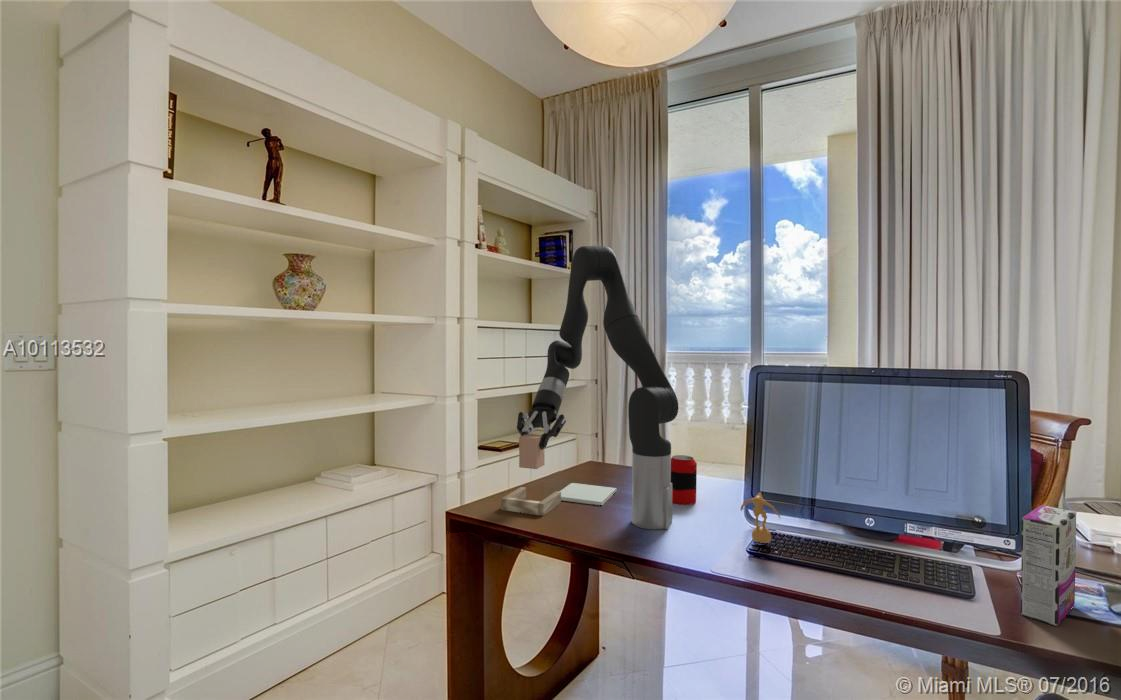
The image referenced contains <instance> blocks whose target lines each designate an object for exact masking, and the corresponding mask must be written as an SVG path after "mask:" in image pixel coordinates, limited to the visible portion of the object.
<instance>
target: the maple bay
mask: <svg viewBox="0 0 1121 700" xmlns="http://www.w3.org/2000/svg"><path fill="white" fill-rule="evenodd" d="M559 491H560V490H559ZM559 491H557V490H556V491H554V492H553V493H551V494H550V495H548V496H547V497H545V498H544V499H543V500H541V501H538V500H530V499H526V498H527V487H525V486H520V487H518V488H516V489H515V490H514V491H511V492H510V493H508V494H506V495H504V496H503V497H502V498H501V502H500V503H501V510H502V511H505V512H507V511H508V512H514V513H520V512H521V514H528V515H534V514H535V516H540V515H541V517H543V516H545V514H546V515H547V514H548V513H550V512H551V511H552V510H553V509H554V508H556V507H558V505H560V504H561V503H562V500H561V492H559ZM501 510H500V511H501Z"/></svg>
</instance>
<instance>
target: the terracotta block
mask: <svg viewBox="0 0 1121 700" xmlns="http://www.w3.org/2000/svg"><path fill="white" fill-rule="evenodd" d="M541 437H542V434H535V433H530V434H526V435H523V436H521V435H520V436H519V437H518V443H519V444H518V446H519V447H518V454H519V456H518V457H519V458H518V467H519V468H521V469H522V468H523V469H529V470H530V469H531V470H537V469H539V468H541V467H543V466H545V448H544V449H543V450H542V449H540V447H539V443H540V440H541Z"/></svg>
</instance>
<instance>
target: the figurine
mask: <svg viewBox="0 0 1121 700" xmlns="http://www.w3.org/2000/svg"><path fill="white" fill-rule="evenodd" d="M748 503H753V506H754V508H753V510H752V512H753V515H754V516H755V519H754V522H755V526H756V527H755V528H754V529H753V530H752V532H751V538H752V541H753V540H754V541H755V542H760V543H769V542H770V543H771V541H772V534H771V532H770V530H769V529H768V528H767V527H766V523H767V519H768V516H767V511H766V510H763V509H764V506H765V505H766V507H769V508H770V509H772V510H773V511H774V513H775V514H776V515H777V516H778V517H779V519H781V516H780V514H779V512H778V511H777V509H776V508H775V506H774V505H772V504H771V503H769V502H768V501H766V500H765V499H764V498H763V494H762V492H758V493H757V494H756V495H755V497H752V498H749V499H745V500H744V501H742V504H741V507H740V512H742V511H743V510H744V507H745V505H746V504H748ZM760 515H761V517H762V518H763V520H762V521H761V522H762V526H759V523H758V522H759V516H760ZM754 541H753V542H754ZM755 542H754V543H755ZM770 543H769V544H770Z"/></svg>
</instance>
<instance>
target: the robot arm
mask: <svg viewBox="0 0 1121 700" xmlns="http://www.w3.org/2000/svg"><path fill="white" fill-rule="evenodd" d="M568 281H569V282H568V289H567V291H568V292H567V301H566V306H565V312H564V315H563V318H562V322H561V325H560V328H559V331H558V332H559V333H558V335H559V337H560V338H561V340H563V341H560V340H554V341H552V342H551V343H550V344H549V346H548V349H547V353H546V354H547V363H546V364H547V365H546V370H545V372H544V375H543V378H542V381H541V382H540V384H539V386H538V389H537V392H536V394H535V396H534V399H533V402H532V405H531V409H530V410H529V411H528V412H527V413H523V412H522V411H520V412H519V413H518V415H517V425H516V430H517V432H518V434H519V435H520V437H521V436H523V435H526V434H532V432H534V431H536V429H537V428H542V429H543V433H542V434H541V435H542V437H541V440H540V443H539V447H540V449H542V450H543V449H544V450H545V448H547V446H548V443H549V439H550V438H551V437H554V438H557V436H559V434H560V432H561V431H562V430H563V428H564V426H565V424H566V423H567V420H566V418H565V416H564V414H563V413H562V414H560V415H558V414H559V410H560V407H561V405H562V402H563V400H564V396H565V391H566V388H567V384H568V381H569V379H570V371H569V370H568V369H572V370H574V369H577V368H578V367H579V366H580V365H581V362H582V357H583V347H582V346H583V337H584V334H585V331H586V328H587V324H588V320H589V311H588V306H587V304H586V301H585V297H584V291H585V286H586V284H587V282H588V281H589V282H590V281H600V282H601V283H602V285H603V287H604V289H605V293H606V297H607V299H606V305H605V310H604V313H603V319H602V321H603V322H602V323H603V329H604V331H605V334H606V337H607V339H608V341H609V343H610V346H611V348H612V349H613V351H614V352H615V354H617V356H618V357H619V358H620V359H621V360H622V361H623V362H624V363H625V364H626V365H627V366H628V367H629V368H630V369H631V370H632V371H633V373H635V375H636V377H637V378H638V381H639V382H640V384H641V387H637V388H635V389H634V390H633V391H632V393H631V394H630V396H629V399H628V407H627V408H628V409H627V410H628V412H627V413H628V414H627V415H628V435H629V440H630V443H631V446H632V452H631V453H632V455H631V456H632V462H631V463H632V464H631V523H632V524H633V525H634V526H636V527H639V528H641V529H645V530H668V529H669V527H670V526H671V524H672V522H673V503H672V483H671V458H672V444H671V442H670V441H669V440H668V439H666V438H664V437H662V436H661V433H660V432H661V431H660V424H666V423H670V422H672V421H674V420H675V419H676V417H677V416H678V414H679V401H678V397H677V395H676V392H675V390H674V389H673V386H672V385H671V383H670V381H669V380H668V378H667V376H666V374H665V372H664V371H663V369H662V366H661V365H660V363H659V361H658V359H657V356H656V353H655V352H654V350H653V348H652V346H651V344H650V341H649V339H648V337H647V335H646V332H645V328H644V327H643V324H642V322H641V320H640V317H639V315H638V313H637V311H636V309H635V307H634V304H633V302H632V300H631V297H630V295H629V292H628V290H627V287H626V283H625V280H624V278H623V274H622V270H621V268H620V264H619V261H618V258H617V256H616V254H615V252H614V251H613V249H612V248H610V247H609V246H606V245H585V246H580V247H577V249H576V250H575V252H574V254H573V256H572V260H571V265H570V272H569V280H568ZM553 423H554V424H553ZM552 424H553V425H552ZM551 425H552V426H551Z"/></svg>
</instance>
